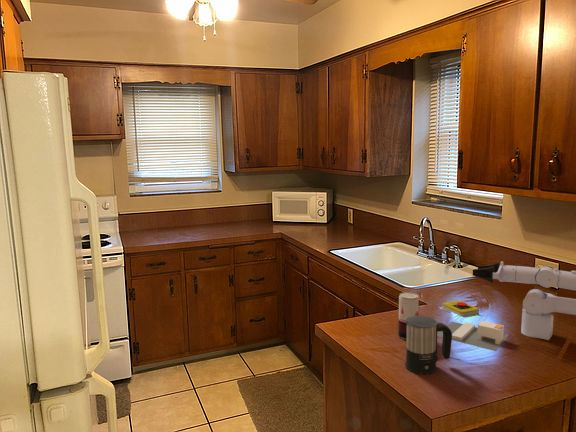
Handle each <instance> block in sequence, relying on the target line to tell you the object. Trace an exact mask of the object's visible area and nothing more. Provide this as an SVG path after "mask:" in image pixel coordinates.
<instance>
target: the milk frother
mask: <svg viewBox="0 0 576 432" xmlns="http://www.w3.org/2000/svg"><path fill="white" fill-rule="evenodd" d="M406 324H407V340H406V354H405V356H406V357H405V363H404V367H405V368H406V369H407V370H408V371H410V372H412V373H414V374H419V375H429V374H432V373H434V372H436V371H437V362H438V336H437V333H438V332H440V331H443V338H442V342H441V343H442V344H441V356H442V358H444V359H445V360H447V359H448V360H449V359H450V358H451V351H452V349H451V348H452V341H453V340H452V332H451V330H450V329H449V327H448V326H447V325H446V324H445V323H442V322H438V320H436V319H435V318H434V317H431V316H426V315H418V316H411V317H408V318H407V319H406Z"/></svg>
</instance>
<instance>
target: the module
mask: <svg viewBox="0 0 576 432" xmlns="http://www.w3.org/2000/svg"><path fill="white" fill-rule="evenodd" d="M477 327H478V336H477V339H479V340H482V339H483V338H484V337H489V338H493V339H495V344H500V343H501V342H502V341H503V333H504V330H505V329H504V328H505V325H504V324H503V325H502V324H499V323H492V322H490V321H489V322H488V321H484V320H482V321H481V322H479V323H478V324H477ZM504 334H505V333H504Z"/></svg>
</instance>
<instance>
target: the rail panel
mask: <svg viewBox="0 0 576 432" xmlns="http://www.w3.org/2000/svg"><path fill="white" fill-rule="evenodd" d="M446 326H448V327H449V329H450V330H451V332H452V341H454V342H459V343H461V344H466V345H470V346H474V347H477V348H481V349H486V350H490V351H494V352H497V350H498V349H499V347H501V345H503V343H504V342H505V341H506V340H507V338H508V337H509V336H510V334H508V333H503V341H502V342H501V343H500V344H495V339H493V338H489V337H484V338H483V339H482V340H479V339H477V336H478V326H476V324H474V323H470V322H464V323H460V322H457V321H456V322H454V321H450V322H449V323H448V324H447V325H446ZM438 337H439V338H442V339H443V331H439V332H437V338H438Z"/></svg>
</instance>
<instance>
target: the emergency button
mask: <svg viewBox="0 0 576 432" xmlns="http://www.w3.org/2000/svg"><path fill="white" fill-rule="evenodd" d="M439 308H440V309H439ZM438 309H439V310H441V311H444V313H445V312H446V313H448V314H450V313H453V314H455V315H457V316H459V317H465V316H466V317H467V316H471V315H474V316H479V317H482V315H481V314H480V310H479V307H476V306H474V305H471V304H470V303H467V302H465V301H463V300H459V299H458V300H452V301H448V302H446V301H445V302H443V303H442V306H439V307H438Z"/></svg>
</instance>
